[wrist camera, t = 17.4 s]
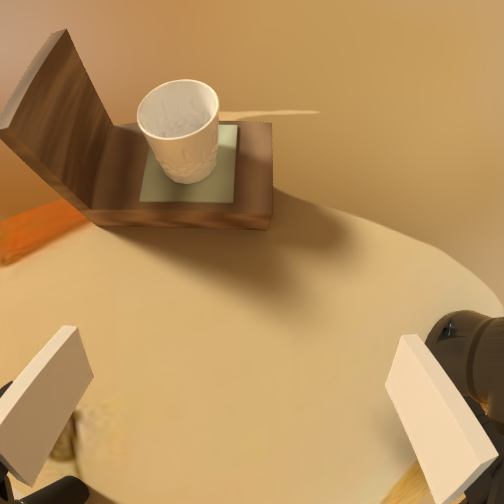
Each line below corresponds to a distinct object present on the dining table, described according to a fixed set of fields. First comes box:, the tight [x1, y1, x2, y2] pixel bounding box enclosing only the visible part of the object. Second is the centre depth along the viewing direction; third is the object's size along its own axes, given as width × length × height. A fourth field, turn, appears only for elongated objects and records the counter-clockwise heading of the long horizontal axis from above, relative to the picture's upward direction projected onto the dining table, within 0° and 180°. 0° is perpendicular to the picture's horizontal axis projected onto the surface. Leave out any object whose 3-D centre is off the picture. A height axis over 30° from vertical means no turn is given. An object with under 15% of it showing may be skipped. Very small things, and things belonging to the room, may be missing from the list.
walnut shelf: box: [0, 29, 273, 230], centre depth 29 cm, size 24×13×24 cm, turn 89°
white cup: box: [137, 80, 219, 184], centre depth 30 cm, size 8×8×10 cm
